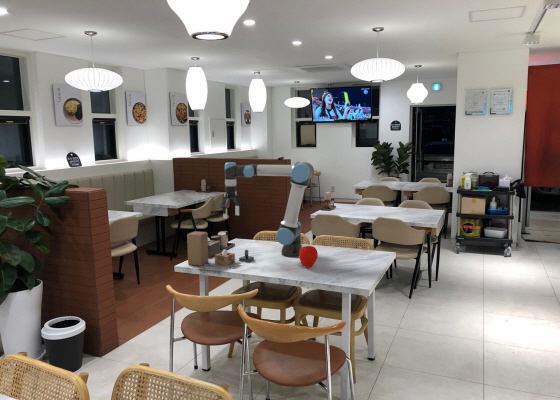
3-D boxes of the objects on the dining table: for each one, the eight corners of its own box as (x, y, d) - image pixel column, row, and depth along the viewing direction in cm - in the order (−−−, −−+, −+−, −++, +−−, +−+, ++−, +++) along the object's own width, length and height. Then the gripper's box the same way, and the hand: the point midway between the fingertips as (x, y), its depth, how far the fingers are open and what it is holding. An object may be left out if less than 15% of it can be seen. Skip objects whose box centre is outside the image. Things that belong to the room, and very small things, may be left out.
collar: (223, 260, 290) (223, 251, 289) (234, 262, 286) (234, 253, 285) (215, 264, 282) (214, 254, 281) (226, 266, 278) (226, 256, 277)
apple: (312, 270, 269) (312, 249, 267) (295, 268, 275) (295, 246, 273) (320, 266, 279) (321, 245, 277) (304, 263, 285) (304, 242, 283)
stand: (254, 259, 294) (253, 249, 293) (248, 262, 288) (247, 251, 287) (245, 258, 297) (245, 248, 296) (239, 261, 291) (238, 250, 290)
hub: (240, 263, 286) (240, 248, 285) (227, 268, 274) (226, 253, 273) (222, 260, 293) (222, 246, 292) (209, 265, 281) (208, 250, 280)
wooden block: (209, 262, 289) (208, 231, 286) (201, 266, 280) (200, 235, 277) (195, 260, 292) (194, 230, 289) (187, 265, 283) (186, 234, 280)
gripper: (237, 183, 311) (237, 213, 314) (214, 187, 290) (215, 219, 293) (245, 184, 308) (246, 214, 311) (223, 187, 286) (224, 220, 289)
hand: (231, 216), depth 302 cm, fingers open, 13 cm apart
